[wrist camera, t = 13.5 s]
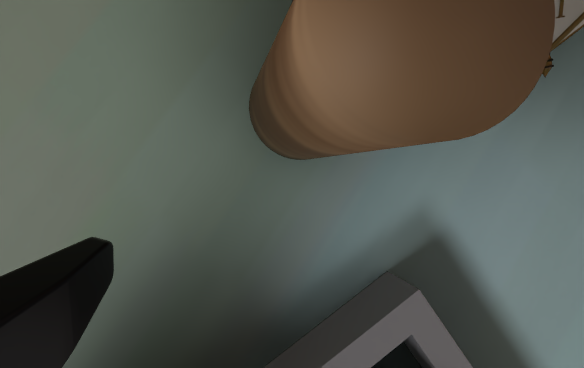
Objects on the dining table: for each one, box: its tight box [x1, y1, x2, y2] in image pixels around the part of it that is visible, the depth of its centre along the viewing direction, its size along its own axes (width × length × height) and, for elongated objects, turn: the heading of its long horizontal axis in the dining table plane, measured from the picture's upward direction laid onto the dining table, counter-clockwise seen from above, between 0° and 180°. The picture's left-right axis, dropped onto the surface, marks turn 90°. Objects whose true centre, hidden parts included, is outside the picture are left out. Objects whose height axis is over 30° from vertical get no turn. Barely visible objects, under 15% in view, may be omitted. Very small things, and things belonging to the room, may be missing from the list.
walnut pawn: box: [249, 0, 555, 160], centre depth 14 cm, size 4×4×12 cm
